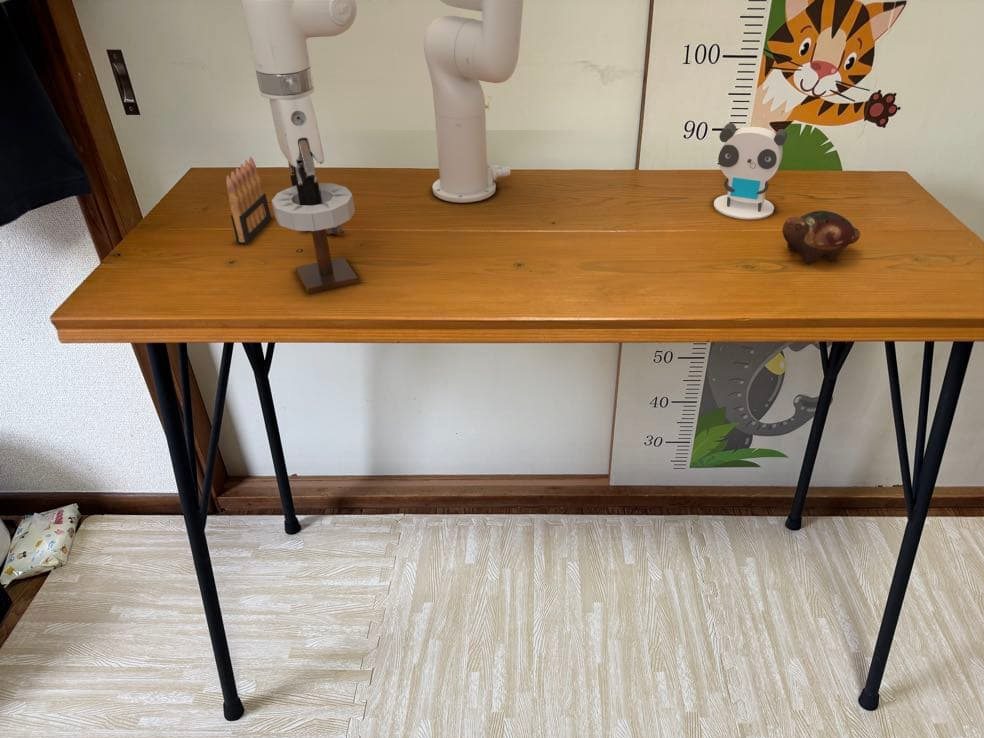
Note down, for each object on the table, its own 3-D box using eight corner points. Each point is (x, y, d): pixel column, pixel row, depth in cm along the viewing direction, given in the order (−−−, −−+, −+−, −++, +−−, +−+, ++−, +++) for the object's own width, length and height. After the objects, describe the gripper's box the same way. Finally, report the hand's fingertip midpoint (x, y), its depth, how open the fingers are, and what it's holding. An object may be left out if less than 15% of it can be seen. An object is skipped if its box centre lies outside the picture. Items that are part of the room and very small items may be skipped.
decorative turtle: (760, 252, 133) (770, 207, 129) (828, 242, 139) (840, 199, 134) (796, 274, 126) (808, 227, 122) (867, 263, 131) (881, 218, 127)
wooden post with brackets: (344, 233, 136) (331, 210, 134) (312, 244, 139) (299, 221, 137) (350, 229, 137) (337, 206, 135) (317, 240, 141) (304, 217, 139)
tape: (341, 194, 125) (339, 177, 123) (363, 221, 117) (360, 204, 115) (269, 207, 120) (265, 190, 119) (286, 236, 112) (282, 218, 111)
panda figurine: (704, 212, 146) (716, 133, 137) (717, 191, 154) (728, 115, 145) (768, 223, 143) (784, 142, 133) (777, 200, 151) (793, 123, 142)
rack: (344, 262, 129) (334, 200, 123) (358, 282, 124) (348, 219, 117) (296, 272, 126) (283, 209, 120) (309, 294, 121) (295, 229, 114)
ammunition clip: (247, 244, 134) (230, 177, 127) (237, 243, 134) (219, 177, 127) (271, 218, 143) (257, 154, 135) (262, 218, 143) (247, 154, 135)
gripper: (326, 93, 106) (346, 218, 117) (298, 64, 117) (318, 181, 128) (271, 100, 103) (297, 227, 114) (247, 70, 114) (273, 189, 126)
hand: (308, 201), depth 121 cm, fingers closed on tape, 3 cm apart
